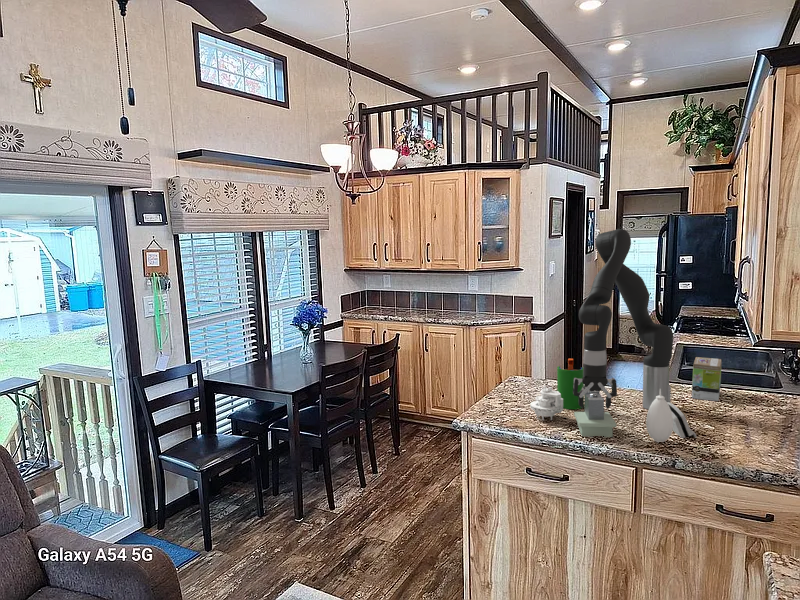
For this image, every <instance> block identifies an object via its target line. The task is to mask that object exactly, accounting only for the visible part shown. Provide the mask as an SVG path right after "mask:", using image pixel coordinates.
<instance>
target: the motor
mask: <svg viewBox="0 0 800 600" xmlns="http://www.w3.org/2000/svg"><path fill="white" fill-rule="evenodd" d="M567 363H568V364H567V368H565V369H564V368H561V366H560V365H559V366H557V368H556V369H557V371H556V373H557V378H556V379H557V380H556V381H557V382H556V383H557V386H556V387H557V388H556V391H558V392H559V393H561V398H563V410H581V409H582V408H581V407H580V406H579V404H578V396H574V394H573V383H574V378H578V379H582V378H583V367H580V369H574V358H568V359H567ZM583 386H584V384H583V382H581V383H580V385H578V392H580V391H581V389H582V388H583ZM583 408H584V396H583Z"/></svg>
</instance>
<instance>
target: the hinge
mask: <svg viewBox="0 0 800 600" xmlns="http://www.w3.org/2000/svg"><path fill="white" fill-rule="evenodd" d="M667 403H668V405H669V407H670V410H671V412H672V416H673V430H672V432H674V433H675V434H676V435H677V436H679V437H680V438H681V439H684V438H685V439H686V437H690V436H692V437H694V439H697V434H696V432H694V431H693V430H692V429H691V428H690V424H689V423H688V420H687V418H686V416H685V414H684V413H683V412H682V411H681V410H680V409H679V408H678V407H677V406H676V404H673V403H672V402H667Z"/></svg>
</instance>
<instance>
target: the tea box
mask: <svg viewBox="0 0 800 600" xmlns="http://www.w3.org/2000/svg"><path fill="white" fill-rule="evenodd" d="M722 362H723V361H722V359H721V358H712V357H711V358H710V357H699V356H695V359H694V361H693V366H692V384H691V398H692V399H697V400H705V401H713V402H718V401H719V400H720V396H721V395H720V394H721V383H722Z"/></svg>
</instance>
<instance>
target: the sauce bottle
mask: <svg viewBox="0 0 800 600" xmlns="http://www.w3.org/2000/svg"><path fill="white" fill-rule="evenodd" d="M647 410H648V409H647ZM646 414H647V415H646V421H645V422H646V423H645V424H646V431H647V433H648V434H649V438H650V439H652V440H653V441H654V442H656V443H659V442H662V443H664V442H666V441H668V439H669V438H670V437H671V435H672V433H673V416H672V412H671V410H670V407H669V405H668V403H667V402H666V400H665V397H664V396H661V389H660V393H659V396H656V399H655V400H654V401H653V402H652V404H651V406H650V408H649V410H648V411H647V413H646Z"/></svg>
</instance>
